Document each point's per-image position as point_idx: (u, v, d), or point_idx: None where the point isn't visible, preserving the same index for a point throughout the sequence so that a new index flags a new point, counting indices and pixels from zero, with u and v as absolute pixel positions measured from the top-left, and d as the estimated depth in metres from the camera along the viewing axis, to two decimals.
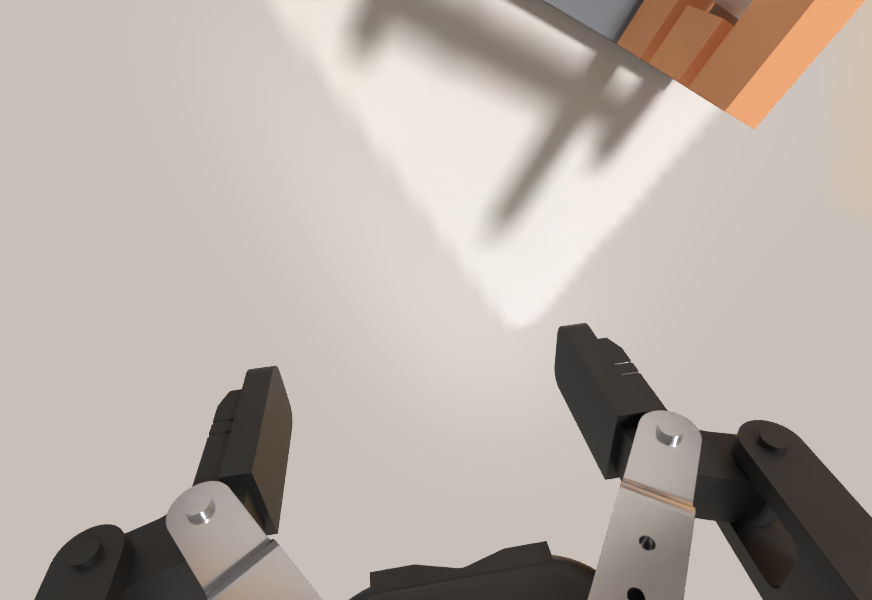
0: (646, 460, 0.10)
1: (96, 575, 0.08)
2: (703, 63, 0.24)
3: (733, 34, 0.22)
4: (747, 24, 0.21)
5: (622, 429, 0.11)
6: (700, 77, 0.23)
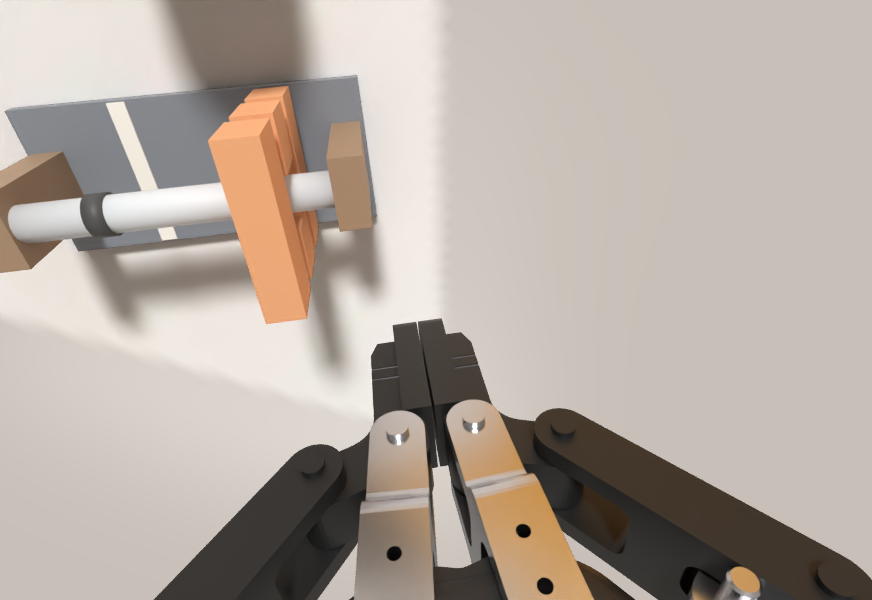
0: (472, 455, 0.10)
1: (328, 483, 0.10)
2: None
3: None
4: None
5: (442, 418, 0.12)
6: None
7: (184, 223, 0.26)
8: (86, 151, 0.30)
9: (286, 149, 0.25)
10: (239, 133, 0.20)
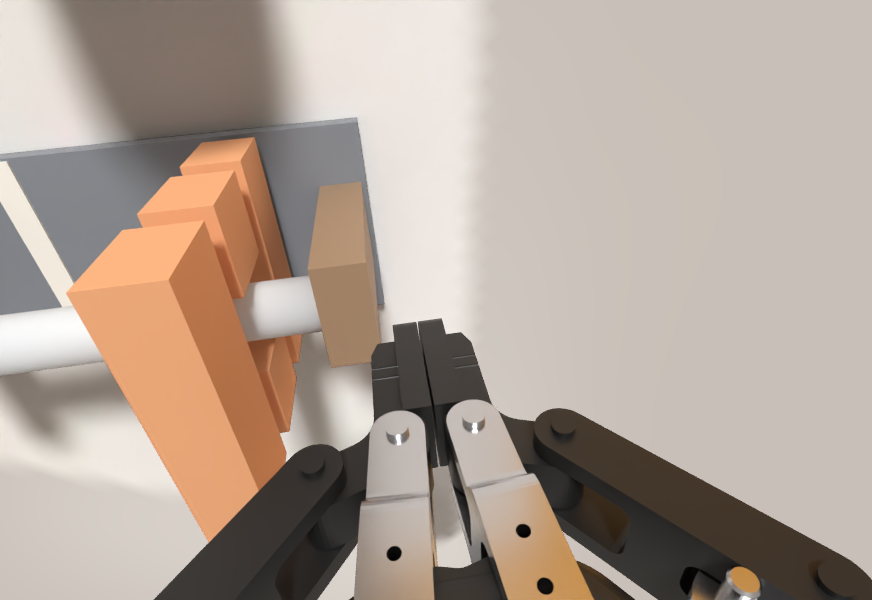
0: (472, 455, 0.10)
1: (328, 483, 0.10)
2: None
3: None
4: None
5: (443, 417, 0.12)
6: None
7: (85, 363, 0.16)
8: None
9: (244, 250, 0.16)
10: (134, 270, 0.11)
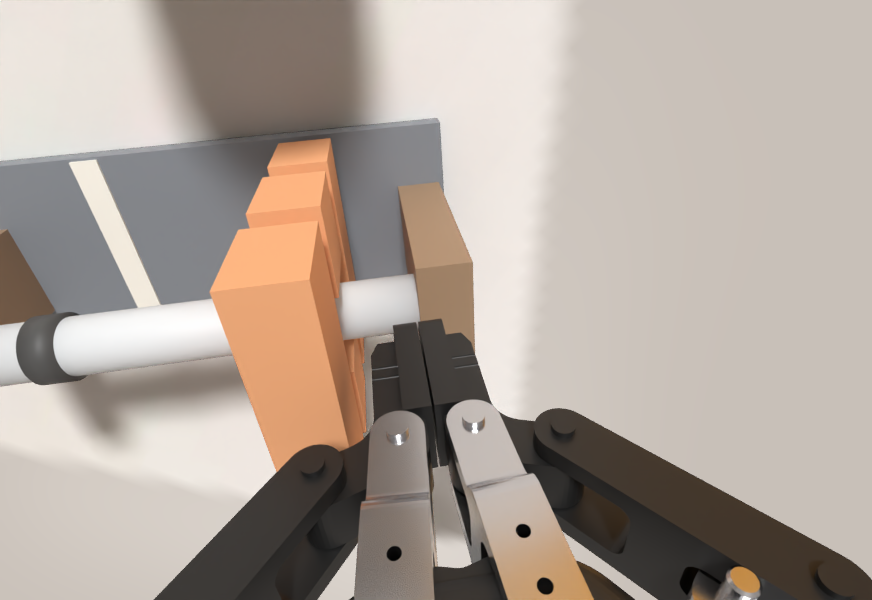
0: (472, 455, 0.10)
1: (327, 483, 0.10)
2: None
3: None
4: None
5: (443, 417, 0.12)
6: None
7: (185, 360, 0.17)
8: (43, 228, 0.20)
9: (335, 250, 0.16)
10: (269, 269, 0.11)
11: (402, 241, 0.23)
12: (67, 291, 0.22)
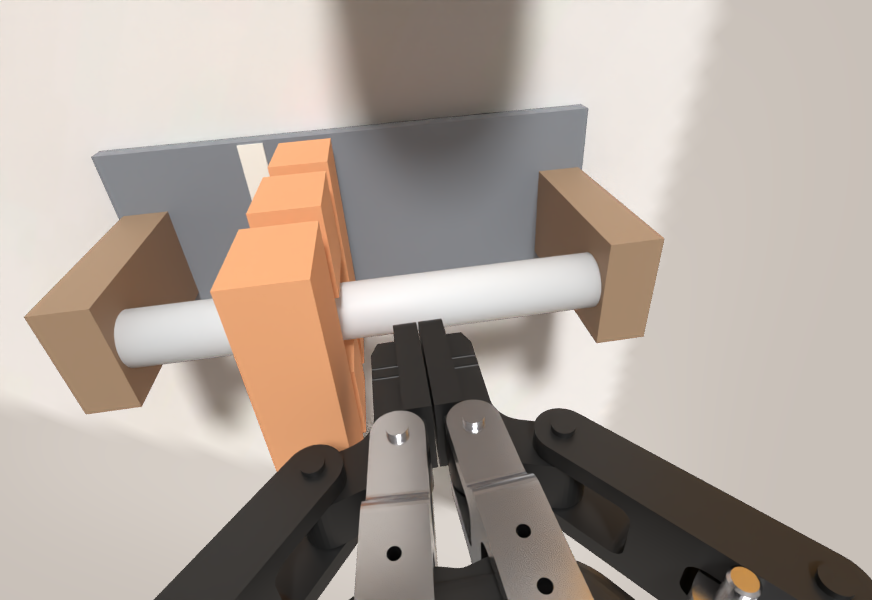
0: (472, 455, 0.10)
1: (328, 483, 0.10)
2: None
3: None
4: None
5: (442, 418, 0.12)
6: None
7: (374, 335, 0.17)
8: (201, 211, 0.21)
9: (335, 250, 0.16)
10: (270, 269, 0.11)
11: (534, 226, 0.23)
12: (213, 273, 0.22)
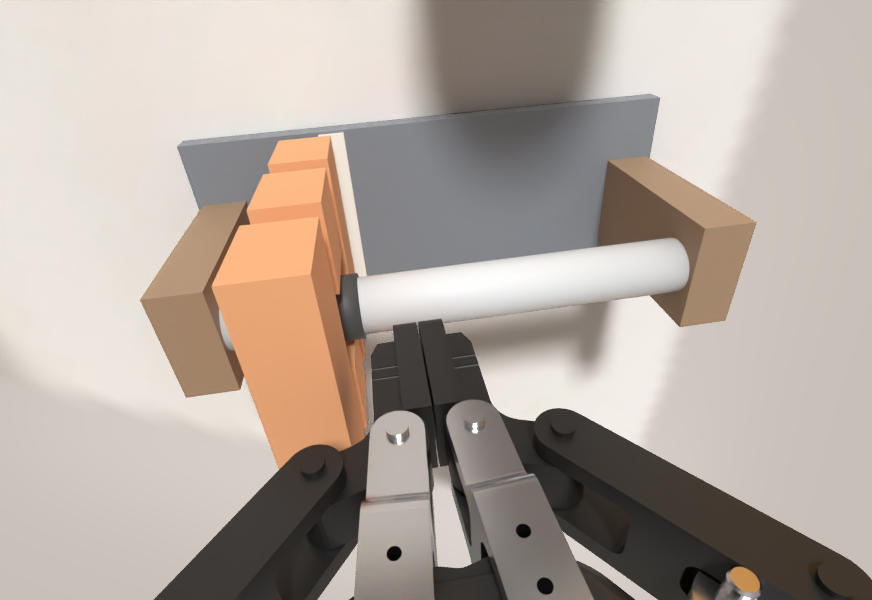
0: (472, 455, 0.10)
1: (327, 483, 0.10)
2: None
3: None
4: None
5: (442, 417, 0.12)
6: None
7: (465, 319, 0.17)
8: None
9: (336, 247, 0.16)
10: (271, 264, 0.11)
11: (599, 215, 0.24)
12: None
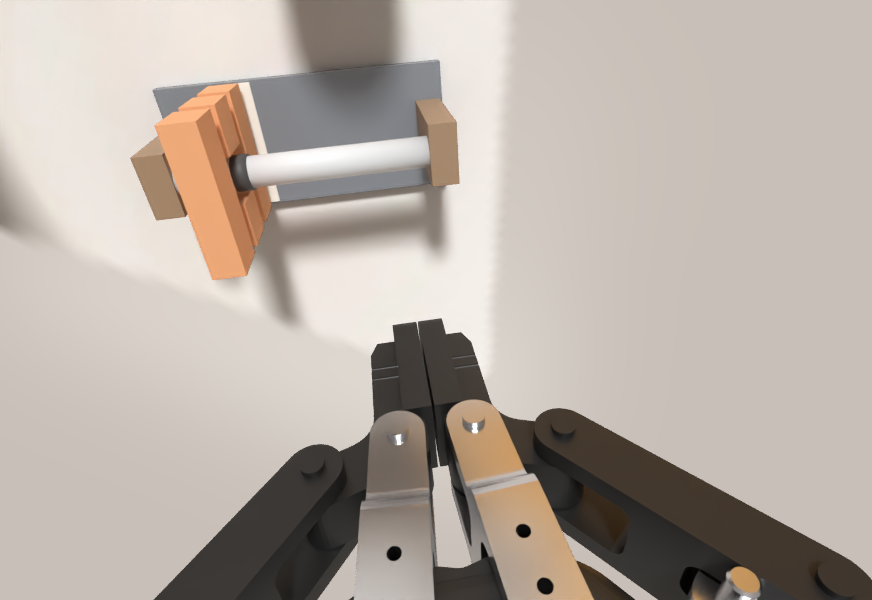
0: (472, 455, 0.10)
1: (328, 483, 0.10)
2: None
3: None
4: None
5: (442, 417, 0.12)
6: None
7: (308, 179, 0.32)
8: None
9: (230, 135, 0.30)
10: (181, 120, 0.25)
11: (417, 136, 0.38)
12: None
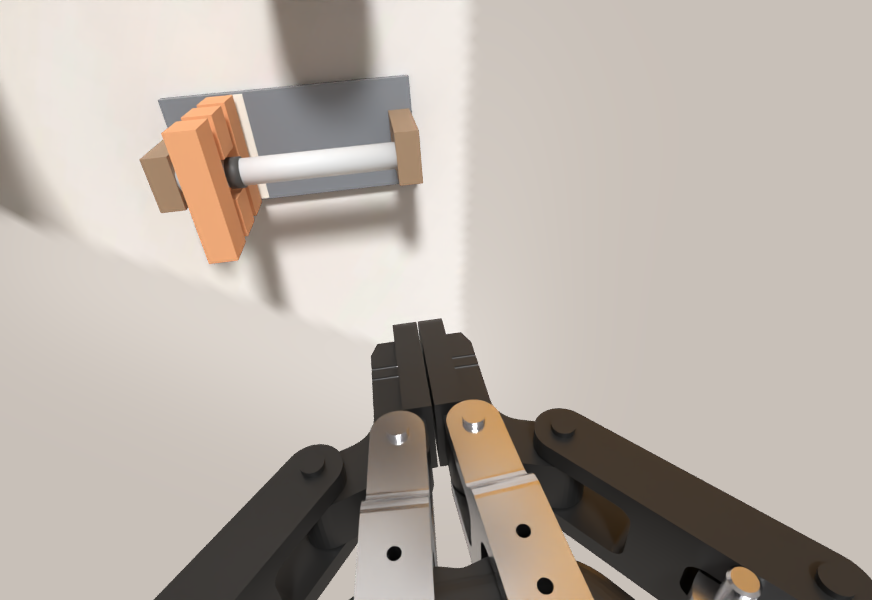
0: (472, 455, 0.10)
1: (328, 483, 0.10)
2: None
3: None
4: None
5: (443, 417, 0.12)
6: None
7: (292, 178, 0.37)
8: None
9: (225, 140, 0.35)
10: (183, 128, 0.30)
11: (390, 142, 0.43)
12: None
